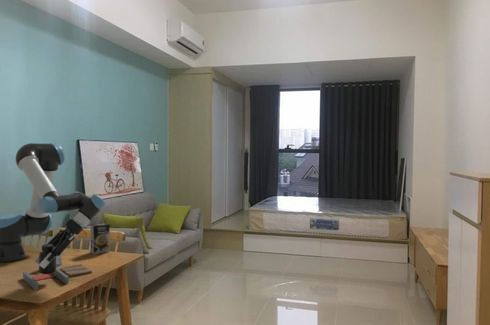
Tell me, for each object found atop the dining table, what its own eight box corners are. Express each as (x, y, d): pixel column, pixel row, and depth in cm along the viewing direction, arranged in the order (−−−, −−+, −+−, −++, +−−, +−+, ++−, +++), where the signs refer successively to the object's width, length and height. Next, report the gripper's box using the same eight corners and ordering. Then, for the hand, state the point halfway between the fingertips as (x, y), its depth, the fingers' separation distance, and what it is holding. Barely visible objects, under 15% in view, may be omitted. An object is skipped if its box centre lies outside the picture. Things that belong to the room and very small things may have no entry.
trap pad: (29, 278, 179) (29, 277, 179) (50, 273, 186) (50, 273, 186) (32, 281, 175) (32, 280, 175) (54, 277, 181) (54, 276, 181)
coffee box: (93, 254, 220) (93, 226, 219) (90, 252, 225) (90, 224, 224) (109, 252, 226) (109, 224, 225) (105, 249, 231) (105, 222, 230)
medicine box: (51, 269, 192) (51, 252, 192) (43, 268, 193) (43, 251, 193) (62, 264, 200) (61, 248, 200) (54, 264, 201) (54, 247, 201)
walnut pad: (60, 270, 191) (60, 268, 191) (81, 266, 198) (81, 264, 198) (70, 277, 181) (70, 275, 181) (91, 272, 188) (91, 270, 188)
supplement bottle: (37, 275, 169) (37, 247, 169) (40, 270, 176) (40, 243, 175) (54, 273, 171) (54, 246, 171) (57, 269, 178) (57, 243, 177)
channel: (23, 278, 179) (23, 272, 179) (54, 272, 188) (54, 266, 188) (35, 290, 164) (35, 283, 164) (68, 283, 173) (68, 276, 173)
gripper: (91, 232, 176) (52, 275, 166) (75, 224, 190) (39, 264, 180) (79, 221, 172) (38, 265, 162) (64, 215, 186) (26, 254, 176)
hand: (39, 264), depth 171 cm, fingers closed on supplement bottle, 7 cm apart
